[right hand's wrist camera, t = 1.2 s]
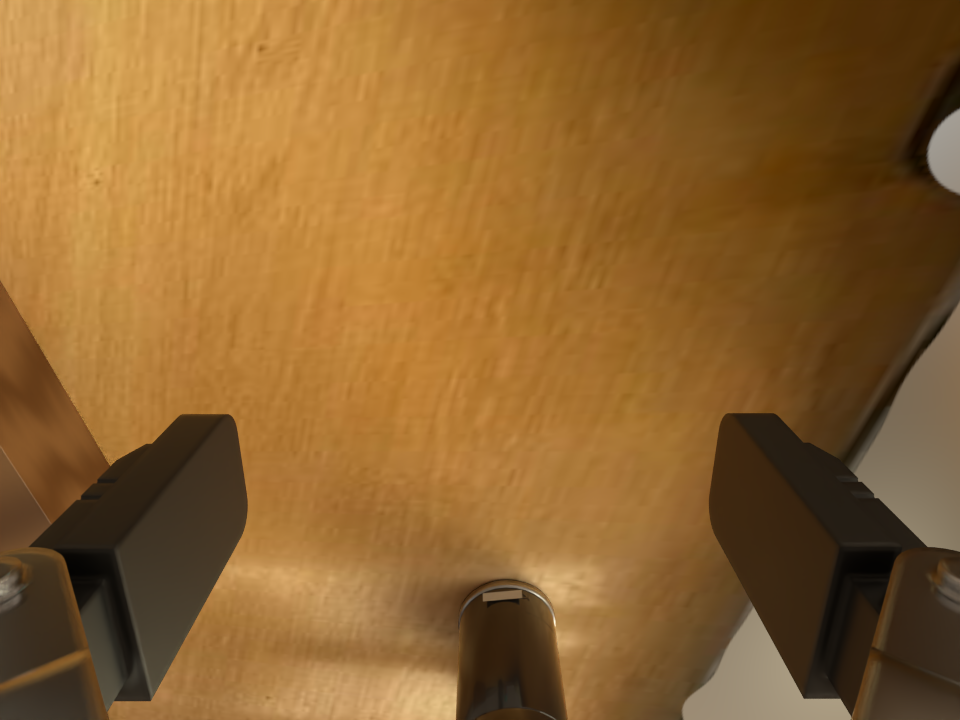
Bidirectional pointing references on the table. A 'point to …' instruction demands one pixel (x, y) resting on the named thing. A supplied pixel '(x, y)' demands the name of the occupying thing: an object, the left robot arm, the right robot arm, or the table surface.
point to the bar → (37, 438)
